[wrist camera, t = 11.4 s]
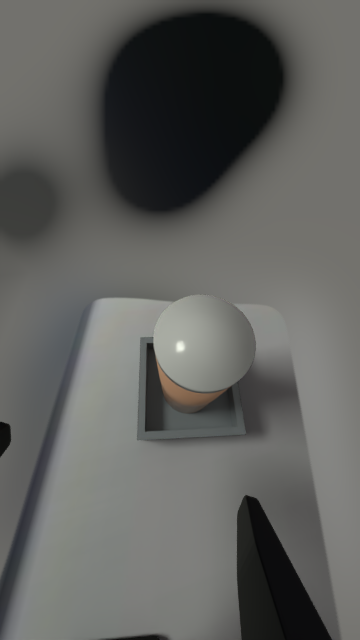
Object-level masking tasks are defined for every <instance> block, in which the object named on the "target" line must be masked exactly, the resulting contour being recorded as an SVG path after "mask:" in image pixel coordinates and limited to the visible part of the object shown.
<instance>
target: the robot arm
mask: <svg viewBox="0 0 360 640" xmlns="http://www.w3.org/2000/svg"><path fill="white" fill-rule="evenodd" d="M10 442H11V429H10V425H9V424H7V423H4V422H0V457H1V456H2V454H3V453H4V452H5V450H6V449H7V448H8V446H9V445H10ZM237 584H238V598H239V611H240V624H241V637H242V640H332V639H331V637H330V635H329V633H328V631H327V629H326V627H325V626H324V624H323V622H322V620H321V618H320V616H319V614H318V612H317V610H316V609H315V607H314V605H313V603H312V601H311V599H310V597H309V595H308V593H307V592H306V590H305V588H304V586H303V584H302V582H301V580H300V578H299V576H298V575H297V573H296V571H295V569H294V567H293V565H292V563H291V561H290V559H289V557H288V556H287V554H286V552H285V550H284V548H283V546H282V544H281V542H280V540H279V539H278V537H277V535H276V533H275V531H274V529H273V527H272V525H271V523H270V522H269V520H268V518H267V516H266V514H265V512H264V510H263V508H262V506H261V505H260V503H259V501H258V500H257V499H256V498H254V497H251V496H248V495H246V496H244V498H243V500H242V503H241V505H240V507H239V510H238V515H237ZM120 640H159V638H158V637H156V636H149V637H139V638H129V639H120Z"/></svg>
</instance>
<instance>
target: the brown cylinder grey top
mask: <svg viewBox="0 0 360 640" xmlns="http://www.w3.org/2000/svg"><path fill="white" fill-rule="evenodd" d="M153 343H154V350H155V355H156V361H157V366H158V371H159V377H160V382H161V387H162V392H163V396H164V398H165V400H166V402H167V403H168V404H169V406H170V407H172V408H173V409H174V410H176V411H178V412H181V413H186V414H190V413H195V412H198V411H200V410H202V409H203V408H204V407H206V406H207V405H208V404H209V403H211V402H212V401H213V400H215V399H216V398H217V397H218V396H220V395H221V394H222V393H223V392H225V391H226V390H227V389H228V388H230V387H231V386H232V385H234V384H235V383H236V382H237V381H239V380H240V379H241V378H242V377H243V376H244V375H245V374H246V373H247V371H248V370H249V368H250V367H251V364H252V362H253V360H254V356H255V350H256V341H255V335H254V332H253V329H252V327H251V324H250V323H249V321H248V319H247V318H246V317H245V315H244V314H243V313H242V312H241V311H240V310H239V309H238V308H237V307H236V306H234V305H233V304H231V303H230V302H228V301H226V300H223V299H221V298H218V297H215V296H210V295H193V296H188V297H185V298H182V299H180V300H177V301H176V302H174V303H172V304H171V305H170V306H169V307H167V308H166V309H165V311H164V312H163V313H162V314H161V316H160V317H159V319H158V321H157V323H156V326H155V330H154V337H153Z"/></svg>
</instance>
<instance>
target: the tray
mask: <svg viewBox="0 0 360 640" xmlns="http://www.w3.org/2000/svg"><path fill="white" fill-rule="evenodd" d="M227 435H246V431H245V424H244V418H243V412H242V405H241V399H240V393H239V387H238V381H237V382H236V383H235V384H234V385H232V386H231V387H230V388H228V389H227V390H226V391H225V392H223V393H222V394H221V395H220V396H218V397H217V398H216V399H215V400H213V401H212V402H211V403H209V404H208V405H207V406H206V407H204V408H203V409H202V410H200V411H198V412H195V413H190V414H186V413H181V412H178V411H176V410H174V409H173V408H172V407H170V406H169V404H168V403H167V402H166V400H165V398H164V396H163V392H162V387H161V382H160V377H159V371H158V366H157V361H156V355H155V350H154V343H153V337H141V340H140V370H139V400H138V430H137V440H153V439H172V438H190V437H209V436H227Z"/></svg>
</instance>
